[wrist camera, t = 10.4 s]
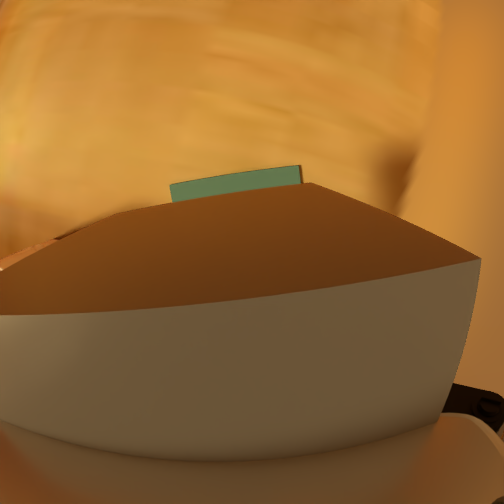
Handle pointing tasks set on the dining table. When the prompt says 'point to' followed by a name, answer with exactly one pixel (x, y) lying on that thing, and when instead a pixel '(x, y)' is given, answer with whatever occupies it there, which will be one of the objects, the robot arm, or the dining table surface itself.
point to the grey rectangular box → (235, 328)
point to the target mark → (235, 183)
